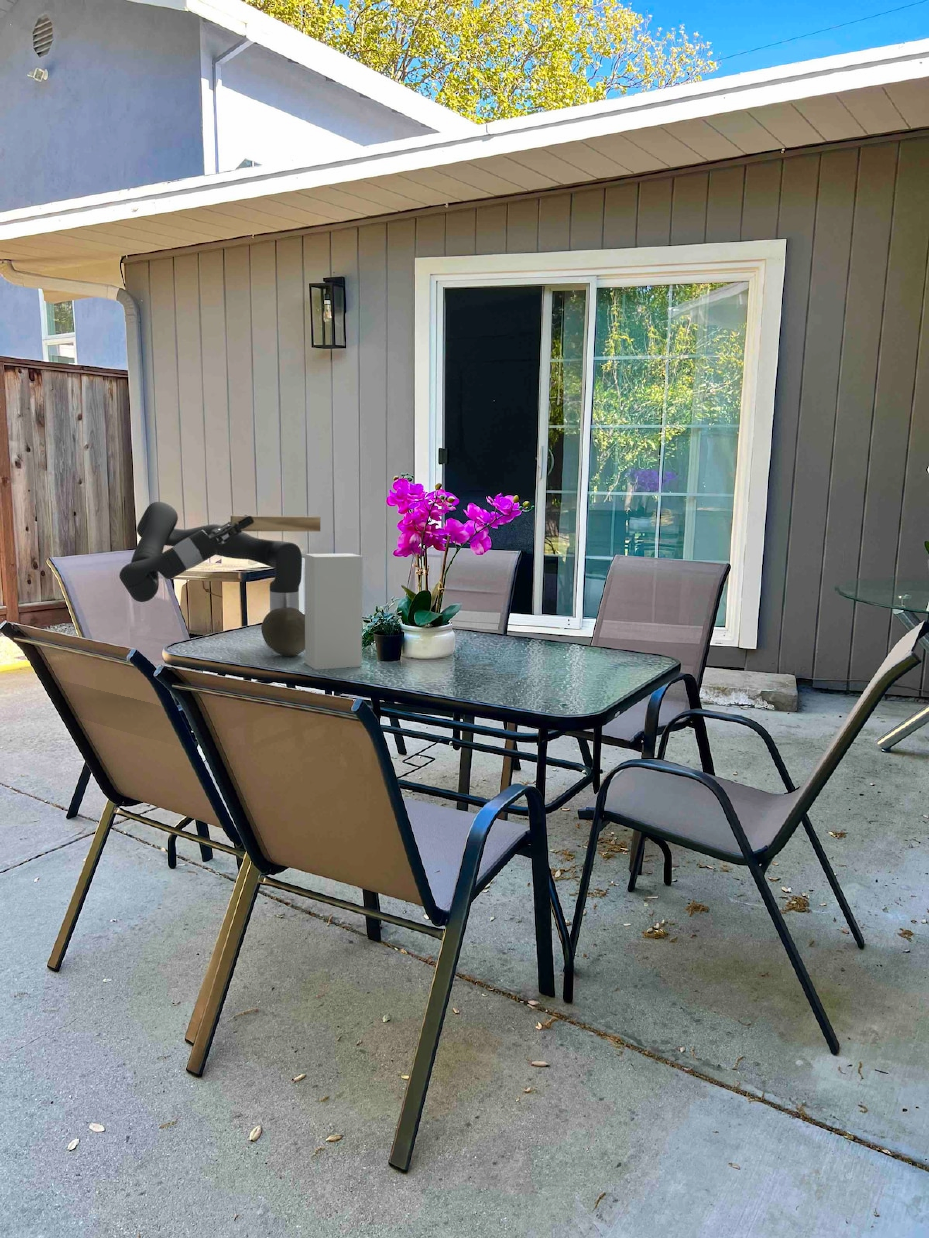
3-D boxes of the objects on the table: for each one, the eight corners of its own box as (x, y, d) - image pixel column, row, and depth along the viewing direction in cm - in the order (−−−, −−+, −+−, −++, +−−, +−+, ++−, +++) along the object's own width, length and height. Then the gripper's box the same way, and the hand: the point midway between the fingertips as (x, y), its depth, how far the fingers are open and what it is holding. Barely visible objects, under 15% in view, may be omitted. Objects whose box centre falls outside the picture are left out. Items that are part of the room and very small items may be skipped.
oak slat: (230, 530, 239) (230, 515, 239) (316, 530, 249) (316, 516, 249) (233, 531, 236) (233, 516, 235) (320, 531, 246) (320, 517, 245)
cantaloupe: (296, 650, 276) (296, 603, 274) (318, 658, 265) (318, 608, 262) (254, 654, 267) (254, 605, 265) (275, 662, 256) (274, 612, 254)
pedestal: (305, 663, 257) (304, 553, 252) (350, 659, 263) (351, 553, 258) (314, 669, 248) (314, 556, 243) (361, 666, 254) (362, 556, 249)
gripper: (197, 559, 241) (251, 528, 247) (206, 564, 229) (263, 531, 234) (183, 536, 239) (238, 505, 244) (191, 539, 226) (249, 507, 231)
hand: (250, 518), depth 239 cm, fingers closed on oak slat, 4 cm apart
